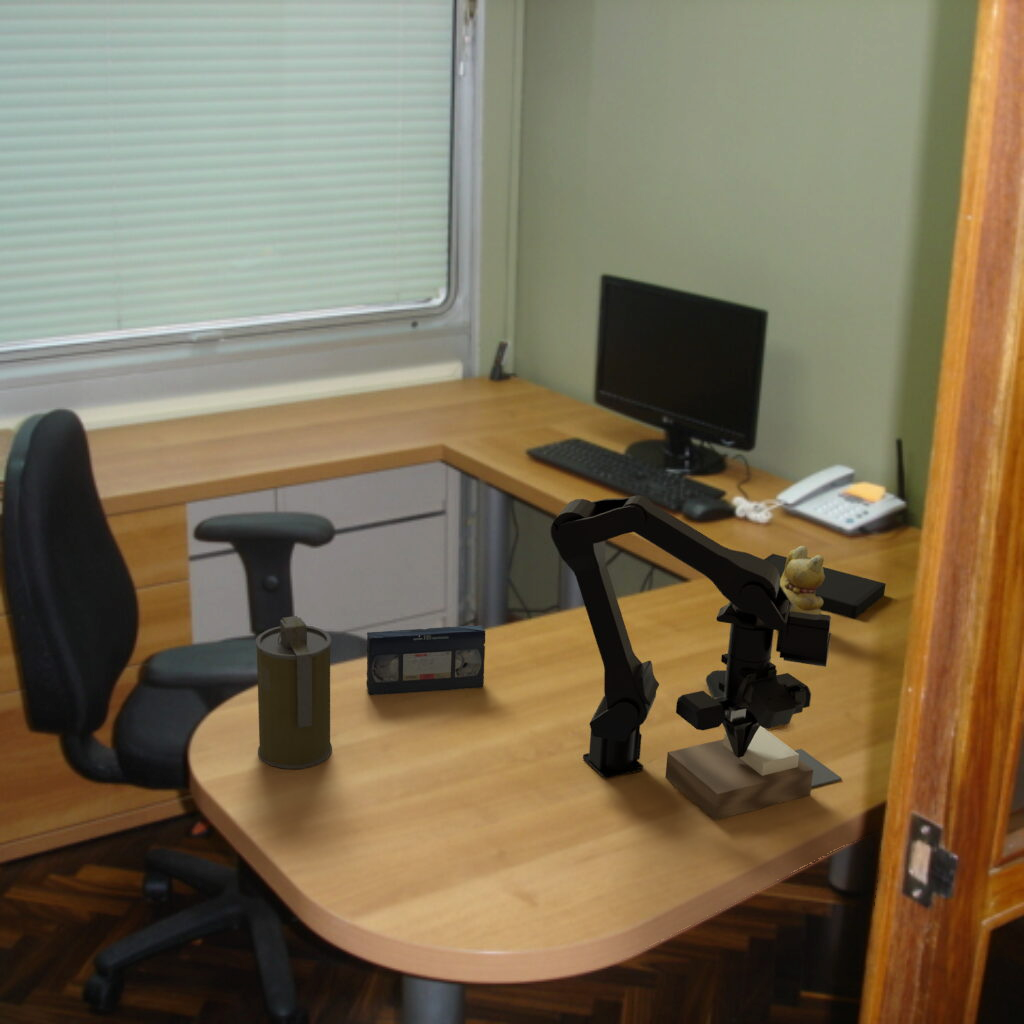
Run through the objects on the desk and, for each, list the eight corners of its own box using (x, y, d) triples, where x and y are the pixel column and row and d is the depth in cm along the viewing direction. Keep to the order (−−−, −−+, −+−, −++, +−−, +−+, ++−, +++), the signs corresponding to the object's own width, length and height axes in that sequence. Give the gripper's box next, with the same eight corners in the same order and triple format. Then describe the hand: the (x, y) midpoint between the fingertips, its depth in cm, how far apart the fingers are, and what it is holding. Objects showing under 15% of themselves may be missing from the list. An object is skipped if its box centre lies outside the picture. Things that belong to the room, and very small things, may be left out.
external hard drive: (854, 621, 248) (856, 605, 247) (739, 588, 261) (740, 573, 260) (883, 597, 259) (885, 583, 258) (771, 567, 272) (773, 553, 271)
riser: (714, 820, 183) (717, 794, 182) (665, 777, 193) (667, 752, 192) (810, 795, 190) (813, 769, 189) (757, 754, 200) (760, 730, 199)
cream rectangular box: (762, 775, 187) (763, 762, 186) (723, 745, 194) (725, 732, 193) (797, 767, 189) (799, 754, 188) (758, 737, 197) (759, 724, 196)
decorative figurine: (828, 634, 241) (839, 554, 236) (795, 644, 237) (805, 563, 232) (789, 614, 249) (798, 537, 244) (756, 623, 244) (764, 545, 239)
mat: (804, 789, 191) (804, 787, 191) (764, 759, 199) (765, 757, 199) (841, 779, 194) (841, 777, 194) (801, 750, 202) (801, 748, 202)
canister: (250, 739, 198) (247, 612, 191) (320, 728, 202) (319, 603, 195) (268, 776, 189) (265, 644, 182) (341, 764, 193) (341, 634, 186)
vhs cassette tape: (367, 696, 212) (368, 638, 209) (365, 687, 215) (366, 629, 212) (484, 689, 216) (486, 632, 213) (481, 681, 219) (483, 624, 216)
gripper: (726, 690, 174) (716, 798, 179) (843, 666, 182) (829, 770, 187) (678, 655, 183) (669, 759, 188) (791, 633, 191) (779, 733, 196)
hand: (738, 756), depth 190 cm, fingers closed
